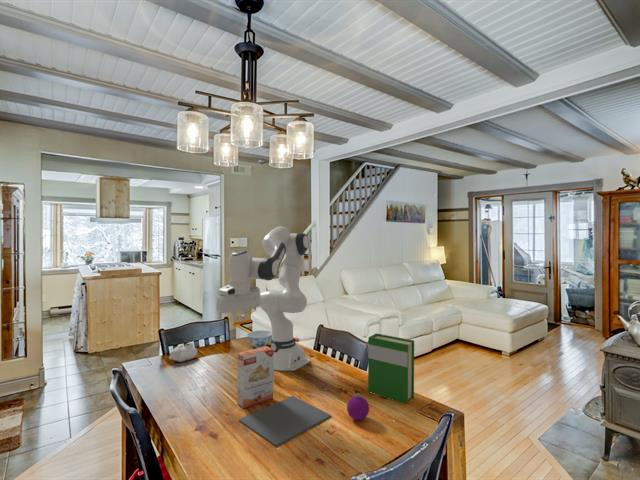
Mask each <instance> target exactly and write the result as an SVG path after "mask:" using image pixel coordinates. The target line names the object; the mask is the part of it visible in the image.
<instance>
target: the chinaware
mask: <svg viewBox="0 0 640 480" xmlns="http://www.w3.org/2000/svg"><path fill="white" fill-rule="evenodd" d="M271 339H272V331H271V330H270V331H269V330H254V331H250V332H248V333H247V340H248V342H249V343H250V344H251V345H252V346H253V347H254V349H257V348H261V347H265V346H267V345H268V344H269V343H270V342H271Z"/></svg>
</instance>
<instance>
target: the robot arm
mask: <svg viewBox="0 0 640 480" xmlns="http://www.w3.org/2000/svg"><path fill="white" fill-rule="evenodd" d="M261 245H262V246H261V247H262V249H263V250H264V252H265V253H266V254H267V255H269V257H254V256H251V255H250V254H249V251H247V250H236V251H233V252H232V253H230V257H229V263H228V273H229V280H228V284H227V285H225V286H223V287H220V288H219V289H217V293H218V294H219V295H218V296H217V298H216V307H215V309H216V311H217V312H218V313H219V314H229V313H230V314H231V316H232V317H233V322H239V318H240V320H241V321H245V320H246V316H247V314H248V312H249V310H250V309H255V308H261V310H262V311H264V312H265V314H266V315H267V317H268V319H269V321H270V325H271V332H272V337H271V340H270V348H272V349H274V370H273V371H281V372H283V371H284V372H285V371H289V372H290V371H292V372H293V371H296V370H298V369H300V368H302V367H304V366H305V365H307V364H309V362H310V363H311V360H310V359H309V358H308V357H306V351H305V350H304V349H303V348H302V347H301V346H299V345H298V344H297V343H299V342H300V338H299V337H294V324H293V322H292V321H291V320H290V319H289V318H288V317H286V316H285V313H286V314H287V313H288V314H290V313H291V314H299V313H303V311H305V309H306V307H307V303H308V300H307V297H306V295H305V294H304V293H303V292H302V291H301V289H300V278H301V275H302V274H301V273H302V269H303V256H304V255H305V254H306V252H307V251H308V249H309V247H310V239H309V236H308V235H307V234H306V233H304V232H297V233H296V232H294V233H292V232H291V233H290V230H289V229H288V228H287V227H286V226H283V225H282V226H281V225H279V226H276V227H275V228H273V229H271V231H269V232H268V233H267V234H266V235H265V236H264V237H263V239H262V241H261ZM284 257H285V259H284ZM283 260H284V261H283ZM282 262H283V263H282ZM281 263H282V266H281ZM280 266H281V269H280V273H279V275H278V271H279V268H280ZM277 275H278V283H279V285H281V286H282V287H283V288H284V290H276V289H275V290H273V289H272V290H264V291H263V292H262V293H261V290H260V288H259V287H257V286H255V285H254V286H251V279H252V280H253V279H254V280H263V281H271V280H273V279H275V278H276V277H277ZM260 293H261V294H260ZM240 311H242V314H241V315H240V317H239V316H237V312H240Z"/></svg>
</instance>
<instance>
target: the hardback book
mask: <svg viewBox="0 0 640 480" xmlns="http://www.w3.org/2000/svg"><path fill="white" fill-rule="evenodd" d="M367 341H368V344H367V345H368V348H367V349H368V350H367V352H368V356H367V357H368V358H367V359H368V361H367V362H368V363H367V365H368V367H367V371H368V373H367V374H368V376H367V379H368V380H367V381H368V382H367V388H368V389H367V392H368V391H369V392H372V393H375V394H378V395H382V396H385V397H387V398H386V399H388V398H390V399H389V400H391V399H393V400H392V401H396V402H398V403H402V404H404V403H405V405H408V404H409V400H410V398H411V399H414V398H415V340H414V339H407V338H402V337H397V336H392V335H387V334H381V333H374V334H373V335H370V336H369V337H368V340H367ZM372 393H371V394H372ZM375 394H374V395H375ZM378 395H377V396H378ZM385 397H384V398H385Z"/></svg>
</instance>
